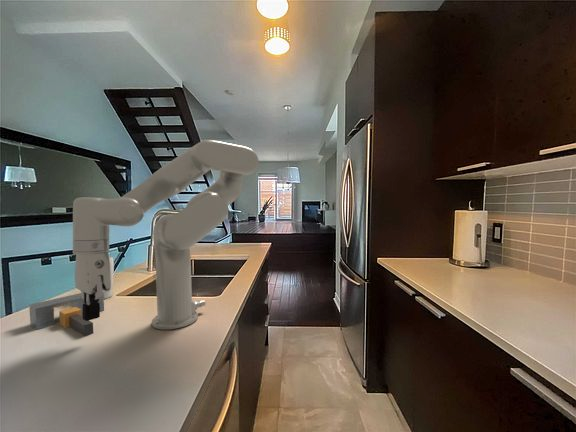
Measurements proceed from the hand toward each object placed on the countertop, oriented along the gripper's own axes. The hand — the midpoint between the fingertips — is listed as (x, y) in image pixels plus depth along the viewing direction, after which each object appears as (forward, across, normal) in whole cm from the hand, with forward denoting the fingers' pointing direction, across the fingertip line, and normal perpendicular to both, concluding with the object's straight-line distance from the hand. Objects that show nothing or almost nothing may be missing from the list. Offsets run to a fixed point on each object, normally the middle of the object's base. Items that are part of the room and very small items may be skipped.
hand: (91, 318), depth 70 cm
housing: (+6, +24, -3) cm, 25 cm away
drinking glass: (+6, +36, -17) cm, 41 cm away
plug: (+6, +13, -1) cm, 14 cm away
